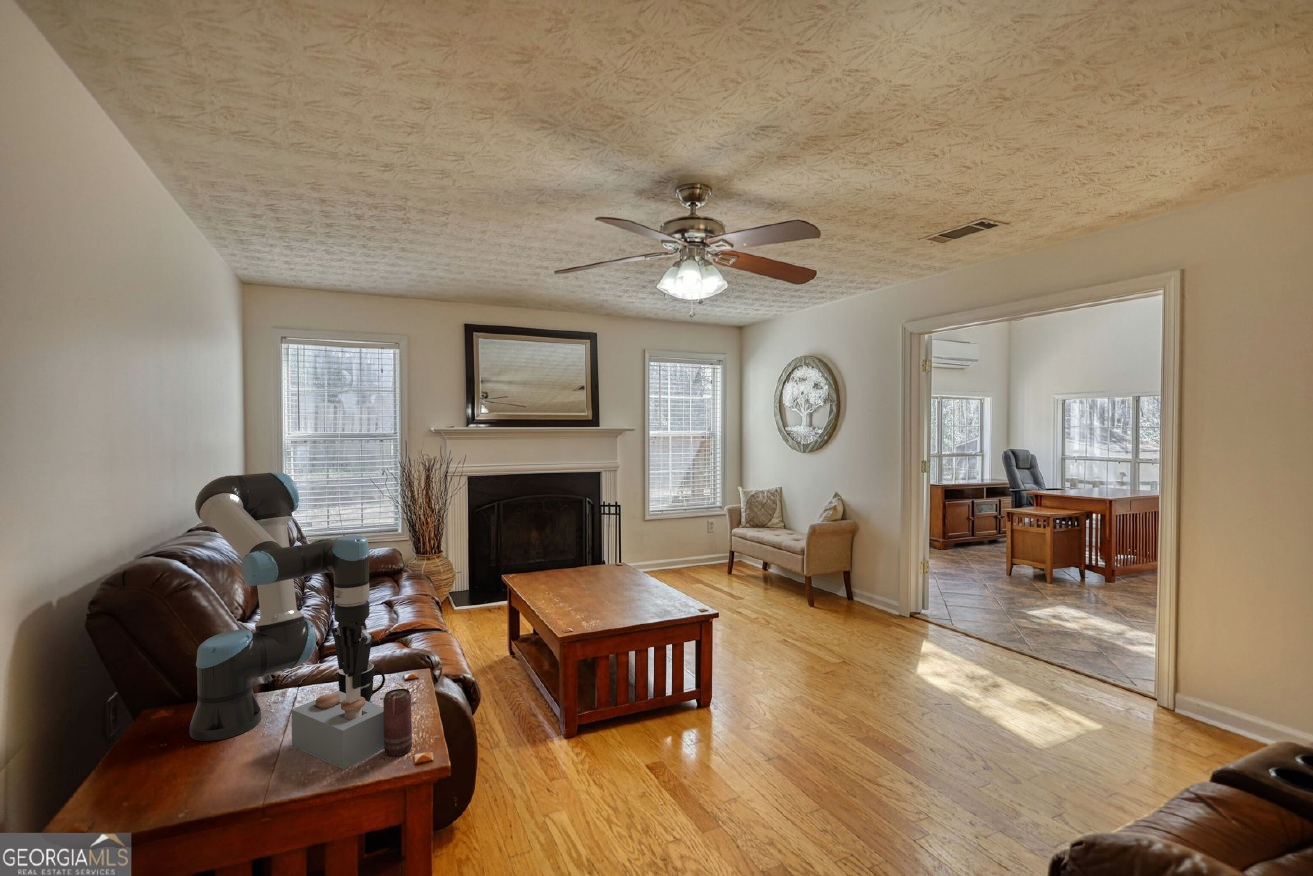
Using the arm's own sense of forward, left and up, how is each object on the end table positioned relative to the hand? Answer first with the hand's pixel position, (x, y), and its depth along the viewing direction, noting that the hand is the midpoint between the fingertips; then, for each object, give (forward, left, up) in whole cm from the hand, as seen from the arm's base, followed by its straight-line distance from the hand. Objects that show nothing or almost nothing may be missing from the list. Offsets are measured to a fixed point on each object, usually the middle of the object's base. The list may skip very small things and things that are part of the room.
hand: (353, 700), depth 148 cm
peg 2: (0, 0, -10) cm, 10 cm away
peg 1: (-10, 0, -12) cm, 16 cm away
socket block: (-5, 0, -12) cm, 13 cm away
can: (+9, +6, -13) cm, 16 cm away
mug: (-21, +17, -13) cm, 30 cm away
